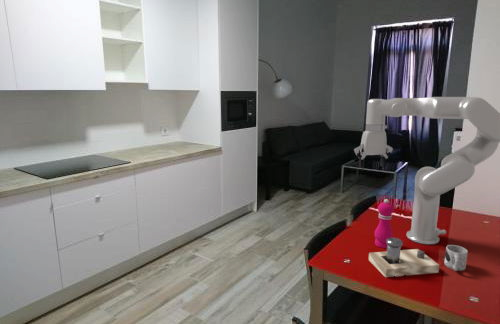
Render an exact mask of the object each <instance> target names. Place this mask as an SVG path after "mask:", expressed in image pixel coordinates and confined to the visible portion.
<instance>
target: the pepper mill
mask: <svg viewBox="0 0 500 324" xmlns="http://www.w3.org/2000/svg"><path fill="white" fill-rule="evenodd" d="M394 210H395V208H394V206H393V204H392V203H390V201H389V199H388V198H385V199H384V201H383V202H381V203H380V204H378V206H377V211H378V219H379V223H378V225H377V227H376V229H375V230H374V238H375V239H374V245H375V246H377V247H379V248H381V249H387V243H386V239H387V238H394V232H393V230H392V229H393V228H392V227H391V220H392V218H393V217H392V216H393V213H394V212H395V211H394Z"/></svg>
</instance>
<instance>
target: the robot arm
mask: <svg viewBox="0 0 500 324" xmlns="http://www.w3.org/2000/svg"><path fill="white" fill-rule="evenodd" d="M366 103H367V104H366V115H365V116H366V117H365V118H366V119H365V131H362V135H361V140H360V141H361V142H360V145H359V146H358V147H355V148H354V149H353V151H354V153H355V155H356V157H357V158H358V160H359V162H358V165H359V168H360V169H365V164H366V163H365V161H366V159H365V158H366V156H376V155H377V156H381V157H380V163H379V166H380V167H381V168H386V166H387V159H388V158H389V156H390V155H391V154H392V152H393V149H394V148H393V147H392V146H390V145H388V144H387V133H386V129H388V125H386V117H391V118H398V117H402V116H404V117H405V116H407V117H408V116H411V117H415V116H416V117H423V118H427V119H438V120H439V119H443V120H444V119H446V120H448V119H450V120H455V119H456V120H468V122H470V123H471V125H473V126H474V127H475V128H476V135H475V137H474V139H472V141H471V142H470V143H467V144H466V145H465V146H463V147H461V148H459V149H457V150H455V151H454V152H451V153H449V154H448V155H446V156H445V157H444V158H442V160H441V163H440V166H439V167H438V168H435V167H433V166H424V167H421V168H420V169H419V170H417V172H416V174H415V176H414V195H413V203H412V205H413V206H412V215H411V226H410V227H411V228H410V230H408V231H407V232H406V237H407V239H409V240H411V241H412V242H415V243H418V244H422V245H437V244H438V243H439V242H440V237H439V236H440V235H446V234H447V231H446V230H445V229H440V228H438V227H437V225H438V224H437V223H438V217H439V207H440V199H441V195H443V194H445V193H447V192H449V191H451V190H453V189H455V188H457V187H459V186H461V185H462V184H464V183H466V182H468V181H469V180H471V178H473V176H474V174H475V171H476V169H475V168H476V166H477V165H478V166H479V164H481V163H483V162H484V161H486V160H487V159H489V158H490V157H492V155H494V154H495V152H496V151H497V149H498V146H499V143H500V112H499V111H498V110H497V109H496V108H495V107H493V105H492V104H491V103H489V102H488V101H486V100H485V99H484V98H482V97H479V96H476V97H475V96H430V97H429V96H428V97H393V98H391V99H390V98H389V99H384V98H370V99H368V100H367V102H366Z"/></svg>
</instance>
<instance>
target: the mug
mask: <svg viewBox="0 0 500 324" xmlns="http://www.w3.org/2000/svg"><path fill="white" fill-rule="evenodd" d="M468 253H469V251H468V249H466V248H465V247H463V246H460V245H455V244H447V246H446V247H445V253H444V262H443V263H444V266H445V267H447V268H449V269H450V270H453V271H454V272H458V271H460V272H462V271H465V270H466V267H467V260H468Z"/></svg>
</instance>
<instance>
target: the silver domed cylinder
mask: <svg viewBox="0 0 500 324" xmlns="http://www.w3.org/2000/svg"><path fill="white" fill-rule="evenodd" d="M386 243H387V248H386V251H387V256H386V262H388V263H389V264H399V261H400V250H401V249H402V247H403V243H404V241H403V240H402V239H400V238H397V237H393V238H387V239H386Z"/></svg>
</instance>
